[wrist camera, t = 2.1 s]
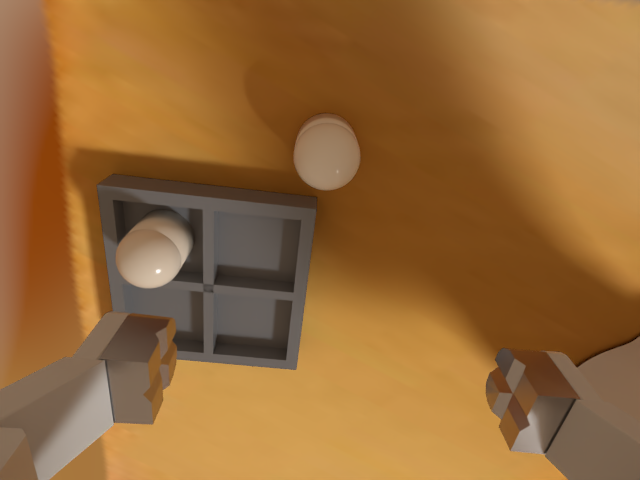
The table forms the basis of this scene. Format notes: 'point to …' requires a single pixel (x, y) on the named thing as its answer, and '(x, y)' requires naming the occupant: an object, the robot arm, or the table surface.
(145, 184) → the carton
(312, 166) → the egg
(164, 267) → the resting egg
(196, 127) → the table surface
